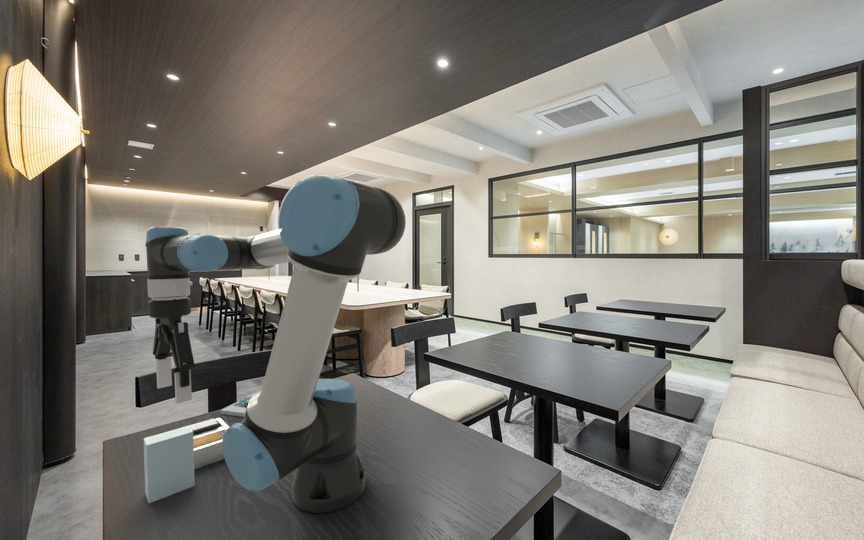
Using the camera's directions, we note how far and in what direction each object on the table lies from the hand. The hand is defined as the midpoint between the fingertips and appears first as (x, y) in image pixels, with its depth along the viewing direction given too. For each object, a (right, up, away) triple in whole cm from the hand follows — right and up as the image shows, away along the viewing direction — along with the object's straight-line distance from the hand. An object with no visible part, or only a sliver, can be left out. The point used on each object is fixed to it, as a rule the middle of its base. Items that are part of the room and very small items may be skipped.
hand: (173, 393), depth 81 cm
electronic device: (+1, -19, +40) cm, 44 cm away
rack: (-1, -19, +12) cm, 23 cm away
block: (+1, -20, -3) cm, 20 cm away
